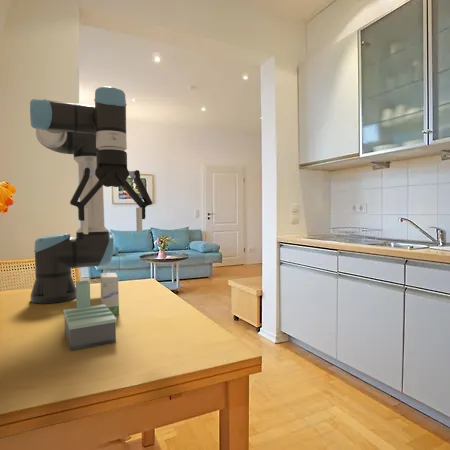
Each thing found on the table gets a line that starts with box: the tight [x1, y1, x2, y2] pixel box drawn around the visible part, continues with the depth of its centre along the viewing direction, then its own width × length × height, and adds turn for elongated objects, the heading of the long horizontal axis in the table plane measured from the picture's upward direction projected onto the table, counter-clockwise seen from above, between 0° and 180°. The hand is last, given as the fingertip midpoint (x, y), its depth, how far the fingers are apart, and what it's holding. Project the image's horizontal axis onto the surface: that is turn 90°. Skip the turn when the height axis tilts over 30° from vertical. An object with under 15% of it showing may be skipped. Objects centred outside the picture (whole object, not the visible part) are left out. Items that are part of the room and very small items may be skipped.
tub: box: [64, 318, 117, 351], centre depth 87 cm, size 10×14×5 cm
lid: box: [62, 280, 118, 330], centre depth 89 cm, size 10×20×8 cm, turn 30°
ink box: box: [100, 272, 120, 316], centre depth 109 cm, size 8×5×12 cm, turn 23°
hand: (113, 232), depth 91 cm, fingers open, 13 cm apart
